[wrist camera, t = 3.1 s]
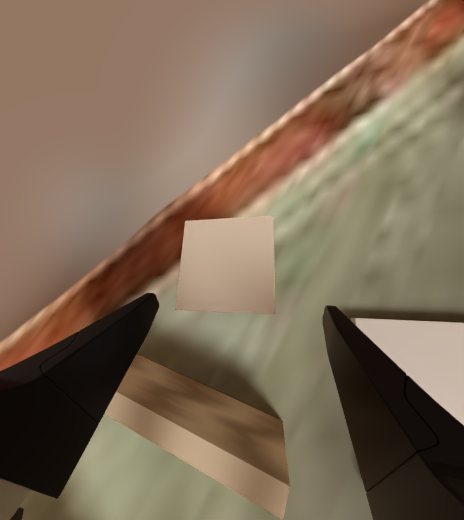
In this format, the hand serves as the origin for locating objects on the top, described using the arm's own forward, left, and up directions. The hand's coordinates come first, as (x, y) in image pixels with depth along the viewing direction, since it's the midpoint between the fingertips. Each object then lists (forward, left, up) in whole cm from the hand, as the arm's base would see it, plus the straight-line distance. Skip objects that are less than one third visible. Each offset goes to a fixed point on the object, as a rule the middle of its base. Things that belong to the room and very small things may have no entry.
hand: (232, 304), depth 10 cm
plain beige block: (0, +2, -9) cm, 9 cm away
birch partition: (-6, -8, -9) cm, 13 cm away
